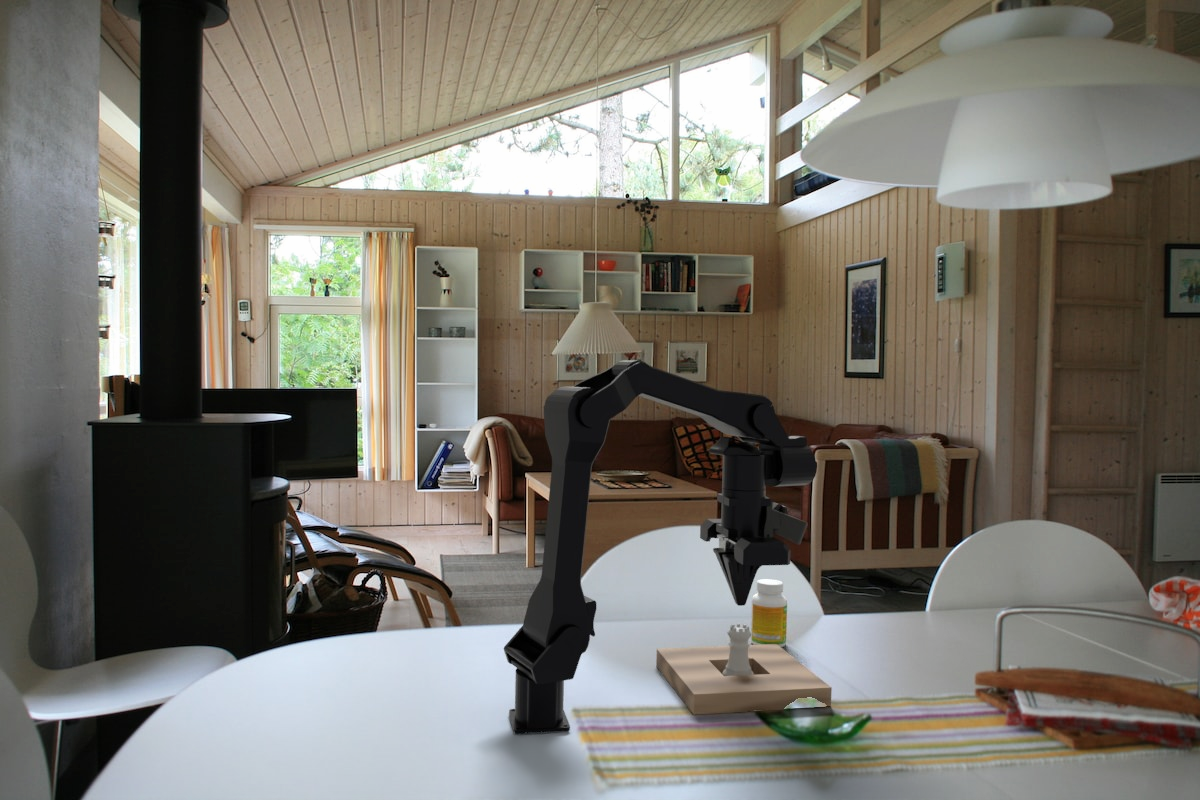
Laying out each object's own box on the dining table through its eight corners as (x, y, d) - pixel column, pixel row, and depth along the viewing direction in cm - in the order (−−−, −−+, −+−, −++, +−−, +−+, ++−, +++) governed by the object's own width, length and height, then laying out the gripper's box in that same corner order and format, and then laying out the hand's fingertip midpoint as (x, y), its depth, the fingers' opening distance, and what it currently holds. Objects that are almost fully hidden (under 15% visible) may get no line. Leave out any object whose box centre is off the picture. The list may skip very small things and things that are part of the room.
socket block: (831, 707, 112) (831, 687, 112) (693, 714, 109) (694, 694, 109) (776, 660, 130) (776, 643, 130) (656, 666, 127) (656, 648, 127)
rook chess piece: (754, 693, 117) (756, 632, 117) (720, 689, 118) (721, 629, 117) (755, 681, 121) (757, 623, 121) (722, 678, 122) (723, 620, 122)
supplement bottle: (789, 649, 136) (790, 586, 135) (753, 648, 136) (755, 585, 135) (782, 639, 141) (784, 578, 141) (748, 638, 141) (750, 577, 141)
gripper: (831, 498, 111) (827, 622, 112) (774, 479, 129) (771, 586, 130) (746, 498, 109) (742, 625, 109) (700, 479, 127) (697, 588, 128)
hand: (740, 604), depth 119 cm, fingers closed
